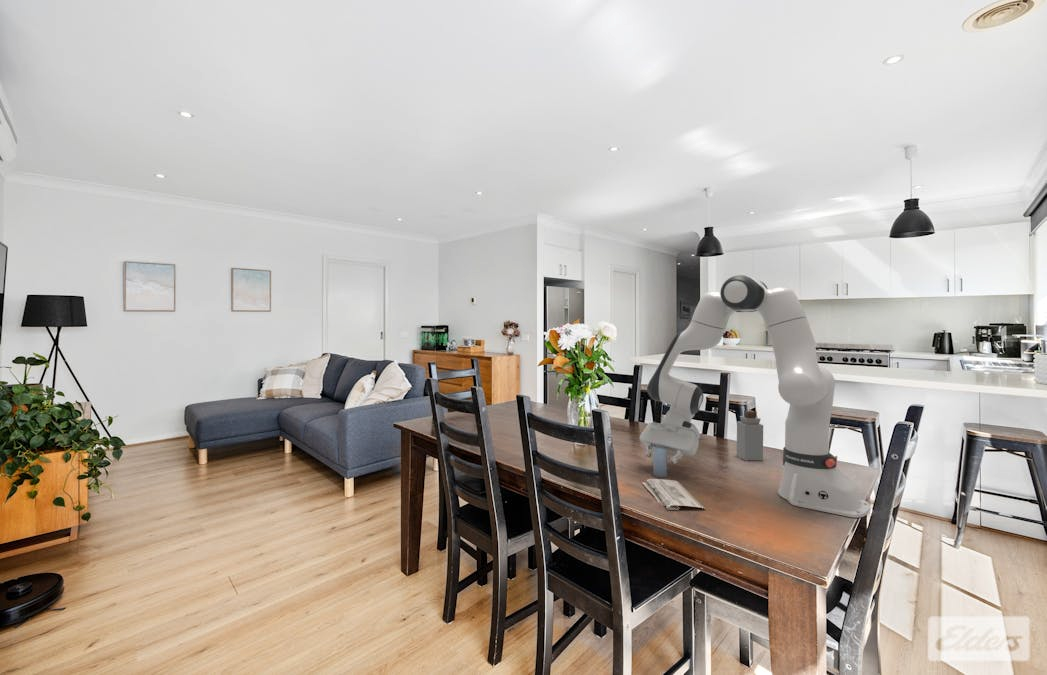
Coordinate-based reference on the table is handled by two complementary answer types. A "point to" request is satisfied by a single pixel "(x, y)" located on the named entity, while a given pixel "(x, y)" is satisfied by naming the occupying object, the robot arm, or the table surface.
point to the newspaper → (671, 494)
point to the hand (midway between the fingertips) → (659, 459)
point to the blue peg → (660, 462)
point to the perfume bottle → (749, 437)
